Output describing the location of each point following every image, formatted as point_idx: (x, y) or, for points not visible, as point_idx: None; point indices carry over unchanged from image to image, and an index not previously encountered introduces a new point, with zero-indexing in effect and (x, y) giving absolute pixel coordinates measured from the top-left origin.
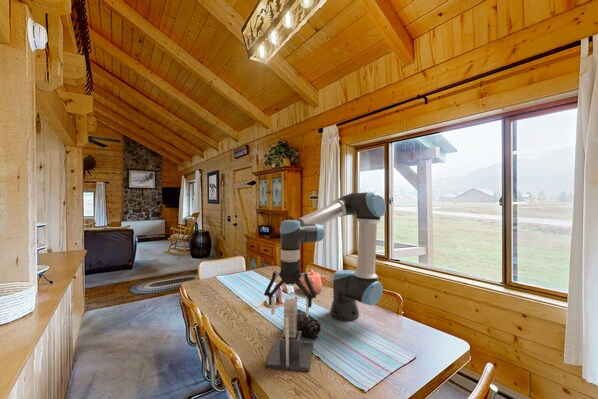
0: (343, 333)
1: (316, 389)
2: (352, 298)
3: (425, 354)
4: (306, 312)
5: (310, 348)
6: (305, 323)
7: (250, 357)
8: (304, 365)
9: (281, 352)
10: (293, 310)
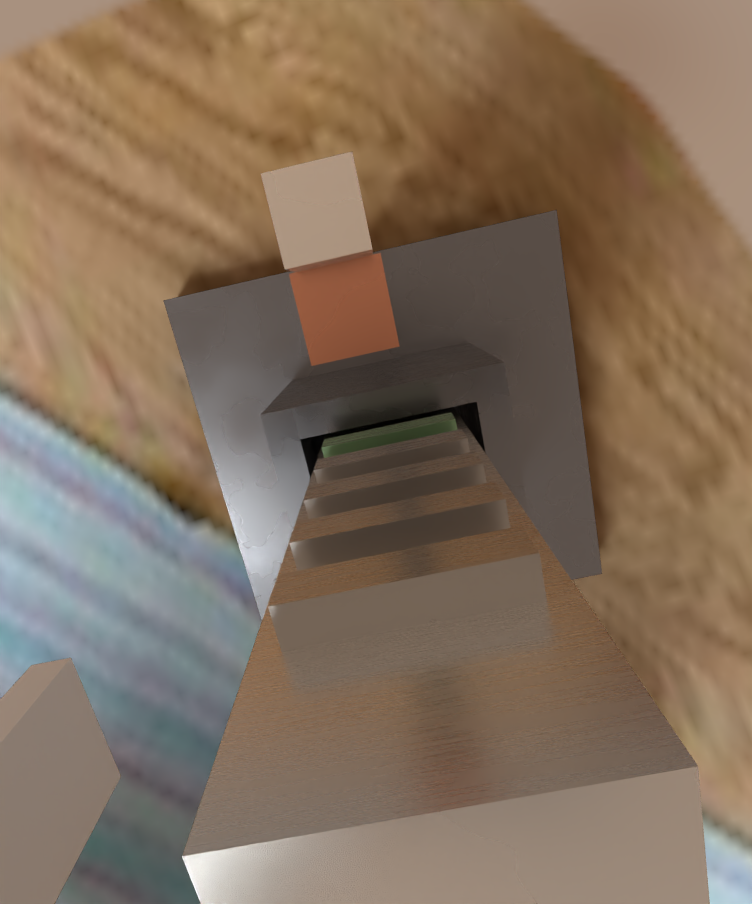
0: (114, 857)
1: (35, 100)
2: None
3: None
4: (6, 727)
5: (260, 564)
6: None
7: (739, 314)
8: (215, 314)
9: (457, 352)
10: (301, 658)
